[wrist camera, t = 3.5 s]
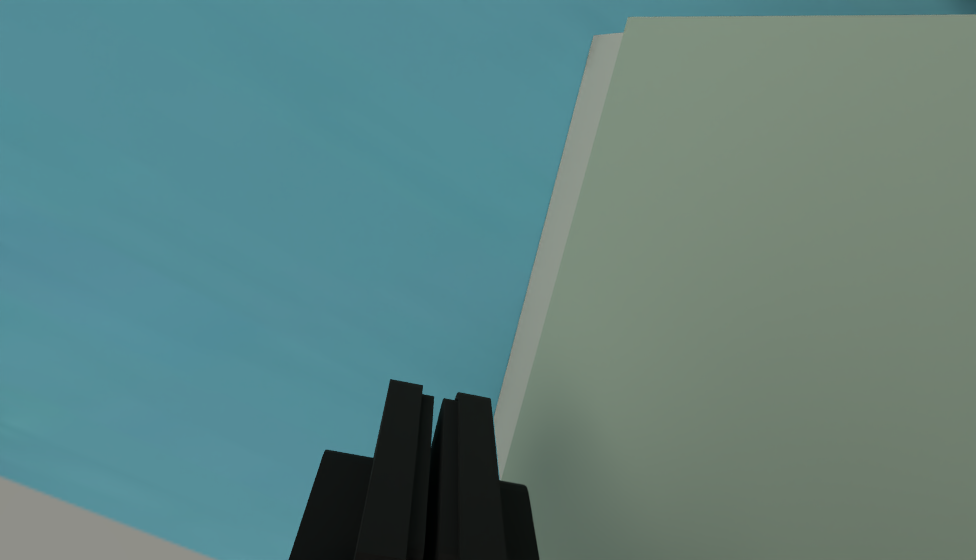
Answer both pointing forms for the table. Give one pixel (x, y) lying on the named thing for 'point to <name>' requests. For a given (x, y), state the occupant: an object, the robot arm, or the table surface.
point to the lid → (766, 300)
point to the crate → (555, 235)
